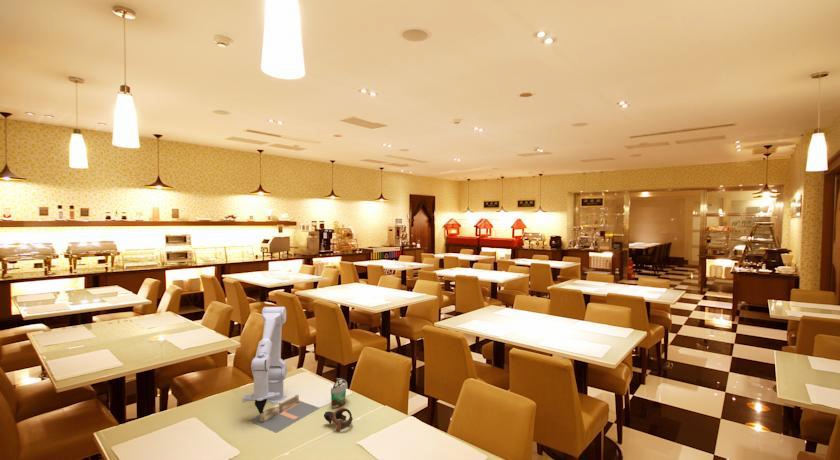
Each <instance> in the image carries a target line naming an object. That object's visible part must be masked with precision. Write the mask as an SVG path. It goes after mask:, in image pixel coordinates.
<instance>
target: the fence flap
mask: <svg viewBox="0 0 840 460" xmlns="http://www.w3.org/2000/svg"><path fill="white" fill-rule="evenodd" d="M277 414H279V404H276V405H274V406H272V407H270V408H269V409H266V410H265V411H264V410H263V412H261V413H260V414H259V415H260V422H264V421H265V420H267V419H269V418H271V417H273V416H275V415H277Z"/></svg>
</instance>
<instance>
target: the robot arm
mask: <svg viewBox="0 0 840 460" xmlns="http://www.w3.org/2000/svg"><path fill="white" fill-rule="evenodd" d="M261 319H262V322H263V323H264V325H263V333H262V337H261V338H262V339H261V340H259V341H258V344H257V347H256V352H255V357H252V360H251V363H250V364H251V366H250V368H251V373H252V374H251V375H252V376H253V393H252V394H251V393H250V394H247V395H243V396H242V398H241V399H242V403H246V402H252V401H253V402H254V406H255V407H256V409H257V411H258V413H259V414H258V415H260V413H261V412H264V409H265V407H266V404H267V402H269V403H272V404H276V403H279V402H280V401H282V400H284V399H286V398H288V395H286V394H284V380H286V379H287V375H288V366H287V361H285V360H284V359H282V358H281V357H282V356H281V355H282V354H281V353H282V333H283V332H282V331H283V329H282V328H283V324H285V323H286V321H287V307H285V306H264V307H262V311H261Z"/></svg>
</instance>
